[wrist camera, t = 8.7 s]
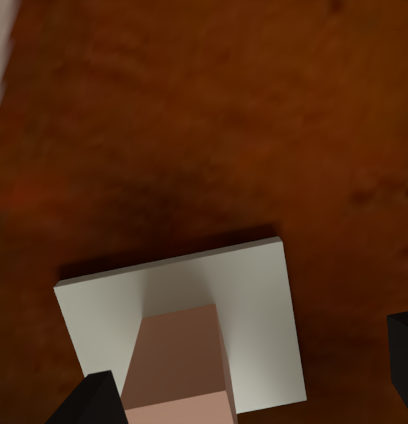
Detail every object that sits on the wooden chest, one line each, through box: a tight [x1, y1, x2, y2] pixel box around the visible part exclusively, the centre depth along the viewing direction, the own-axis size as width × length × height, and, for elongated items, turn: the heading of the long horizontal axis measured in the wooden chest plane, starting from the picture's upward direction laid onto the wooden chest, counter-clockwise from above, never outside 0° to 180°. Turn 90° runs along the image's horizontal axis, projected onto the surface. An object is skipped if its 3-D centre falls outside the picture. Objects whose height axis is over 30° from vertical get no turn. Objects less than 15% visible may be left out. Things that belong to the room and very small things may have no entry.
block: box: [120, 304, 238, 424], centre depth 15 cm, size 4×4×6 cm
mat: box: [54, 236, 307, 414], centre depth 18 cm, size 12×10×1 cm
